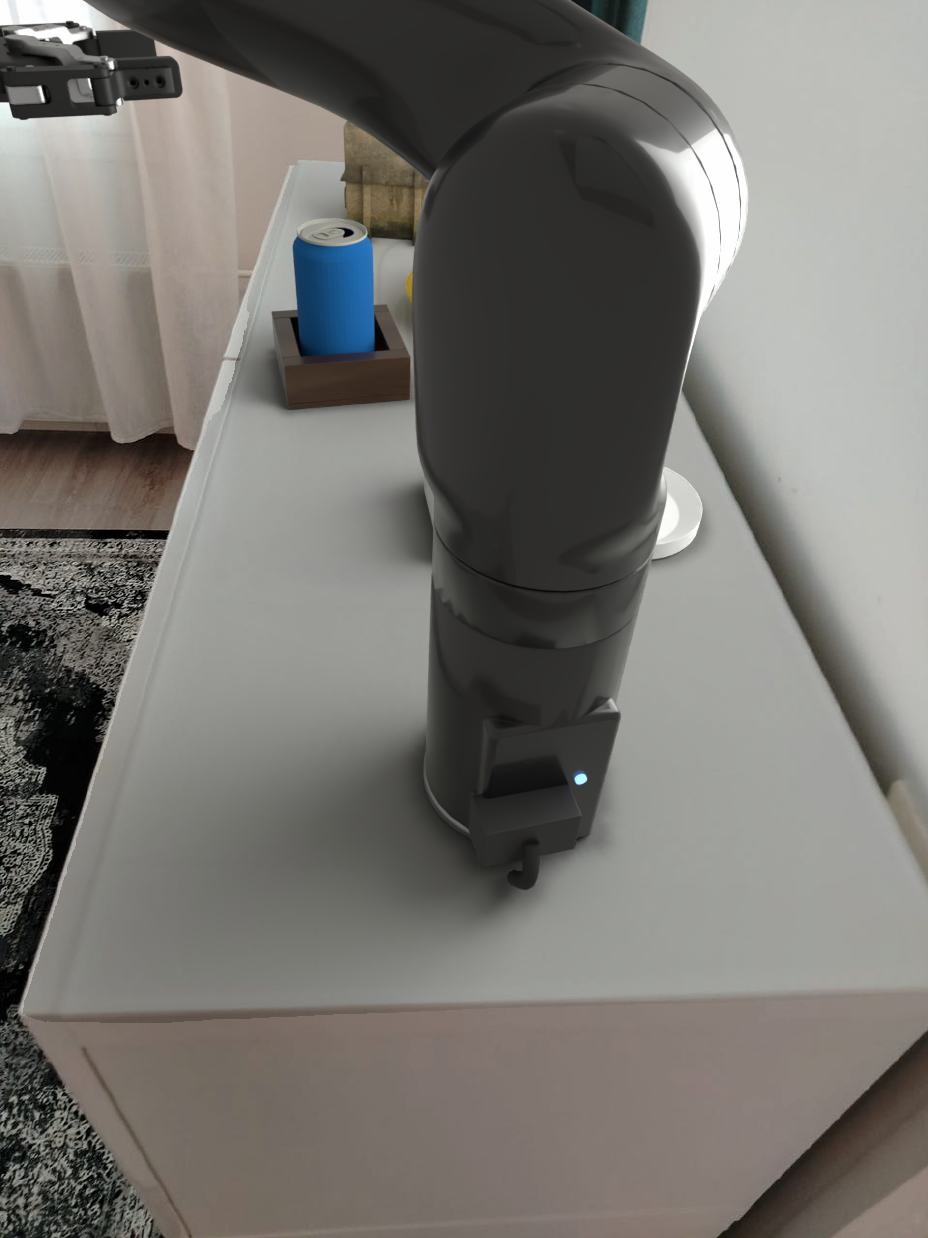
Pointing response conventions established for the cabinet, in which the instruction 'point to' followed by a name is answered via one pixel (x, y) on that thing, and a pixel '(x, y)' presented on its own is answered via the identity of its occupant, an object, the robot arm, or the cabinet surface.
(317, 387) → the brown wooden open box
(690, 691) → the cabinet surface
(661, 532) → the white flat rounded piece
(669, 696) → the cabinet surface
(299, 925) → the cabinet surface
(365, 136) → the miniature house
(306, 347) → the beverage can
